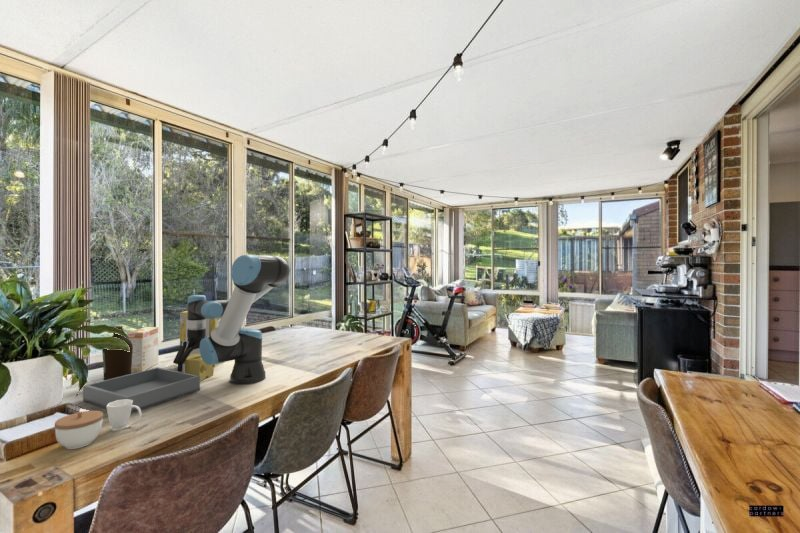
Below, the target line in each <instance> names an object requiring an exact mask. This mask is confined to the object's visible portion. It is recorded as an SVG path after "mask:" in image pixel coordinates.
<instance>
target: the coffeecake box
mask: <svg viewBox="0 0 800 533" xmlns="http://www.w3.org/2000/svg"><path fill="white" fill-rule="evenodd" d="M128 337H129V340H130V341H131V342H132V345H133V353H132V367H131V373H136V372H140V371H144V370H149V369H152V368H153V367H155V366H156V365H158V364H159V326H144V327H141V328H139V329H135V330H132V331H128V332H127V338H128Z"/></svg>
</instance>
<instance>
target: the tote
mask: <svg viewBox="0 0 800 533" xmlns="http://www.w3.org/2000/svg"><path fill="white" fill-rule="evenodd" d="M83 386H84V385H83ZM83 386H82V387H83ZM200 390H201V381H200V376H198V375H193V374H188V373H183V372H179V371H178V370H172V369H169V368H164V367H159V366H158V367H154V368H153V367H152V368H149V369H147V370H145V371H140V372H131V374H128V375H124V376H120V377H116V378H112V379H108V380H104V379H103V380H102V381H101V380H100V381H97V382H94V383H93V382H92V383H89V384H85V386H84V387H83V388H82V401H83V402H84V403H88V404H90V405H94V406H97V407H100V408H103V409H106V410H107V407H106V406H107V405H108V403H110V402H113V401H116V400H123V399H130V400H133V403H132V405H136V406H138V407H139V408H140V409H141V411H142V410H145V409H148V408H151V407H154V406H157V405H159V404H163V403H166V402H169V401H171V400H175V399H177V397H178V398H180V396H181V397H184V396H186V394H187V395H190V394H193V393H196V392H198V391H200ZM189 393H190V394H189ZM183 395H184V396H183ZM136 412H137V413H138V412H139V411H138V410H137V409H136V408H135V407H133V408H132V409H131V414H134V413H136Z"/></svg>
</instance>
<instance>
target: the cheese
mask: <svg viewBox="0 0 800 533" xmlns="http://www.w3.org/2000/svg"><path fill="white" fill-rule="evenodd" d="M183 364H185V373H188V374H193V375H198V376H200V382H201V381H203V380H205V379H206V378H210V377H212V376H214V373H215V372H214V369H215V368H214V367H212V365H213V364H212V365H208V364H206V363H205V362H204V361H203V359H202V357H201V354H192V355H190V356H188V357H187V359H186V360H185V362H184V363H183Z"/></svg>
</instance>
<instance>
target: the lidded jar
mask: <svg viewBox="0 0 800 533" xmlns="http://www.w3.org/2000/svg"><path fill="white" fill-rule="evenodd" d="M103 418H104V412H103V411H100V410H85V411H77V412H75V413H72V414H68V415H66V416H63V417H61V418H59V419H57V420H56V421H55V422H54V432H55V439H56V441H57V443H58V444H59V445H61V446H62V447H65V450H75V449H77V450H78V449H80V448H84V446H85V447H86V446H90V445H91V444H93V442H94V440H95V439H97V437H98V436H99V434H100V433H101V431H102V428H103V420H104V419H103Z"/></svg>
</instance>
